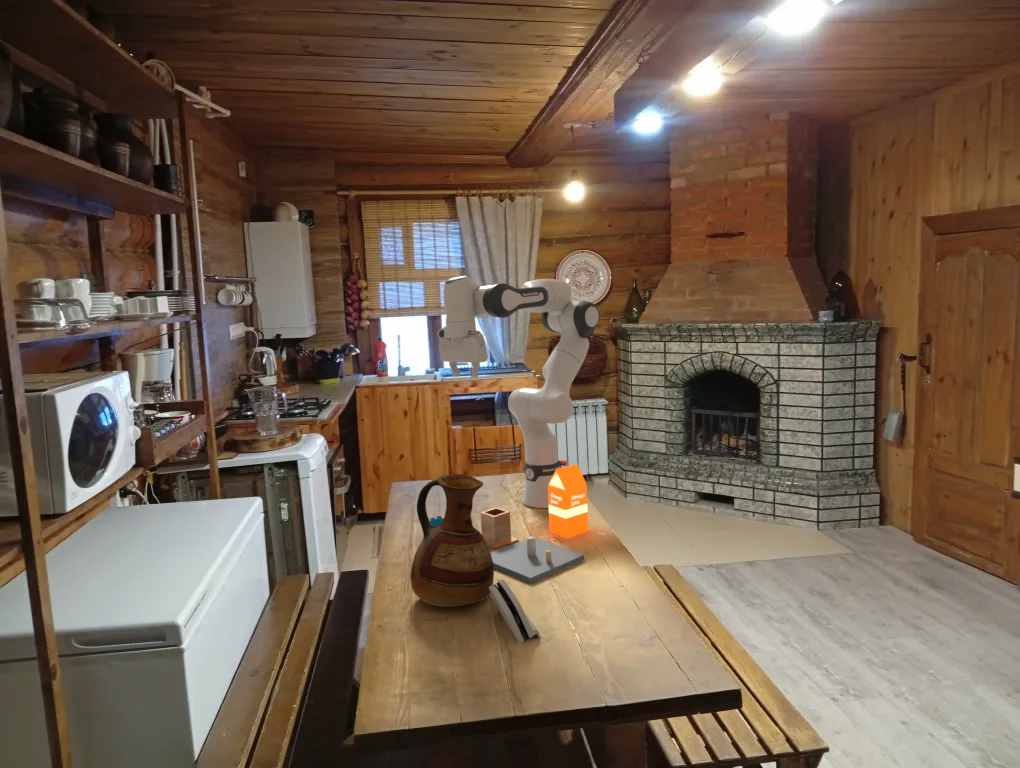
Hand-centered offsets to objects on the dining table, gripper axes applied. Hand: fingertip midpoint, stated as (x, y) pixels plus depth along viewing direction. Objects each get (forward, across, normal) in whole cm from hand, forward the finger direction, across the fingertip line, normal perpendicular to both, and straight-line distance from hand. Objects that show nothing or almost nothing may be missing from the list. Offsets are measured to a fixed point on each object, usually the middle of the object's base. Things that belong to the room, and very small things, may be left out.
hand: (465, 376), depth 210 cm
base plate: (+48, -32, +6) cm, 58 cm away
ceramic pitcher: (+48, -35, +34) cm, 69 cm away
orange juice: (+48, -23, -17) cm, 56 cm away
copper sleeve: (+48, -14, +4) cm, 50 cm away
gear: (+47, +2, +12) cm, 49 cm away
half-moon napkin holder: (+49, -55, +32) cm, 81 cm away
